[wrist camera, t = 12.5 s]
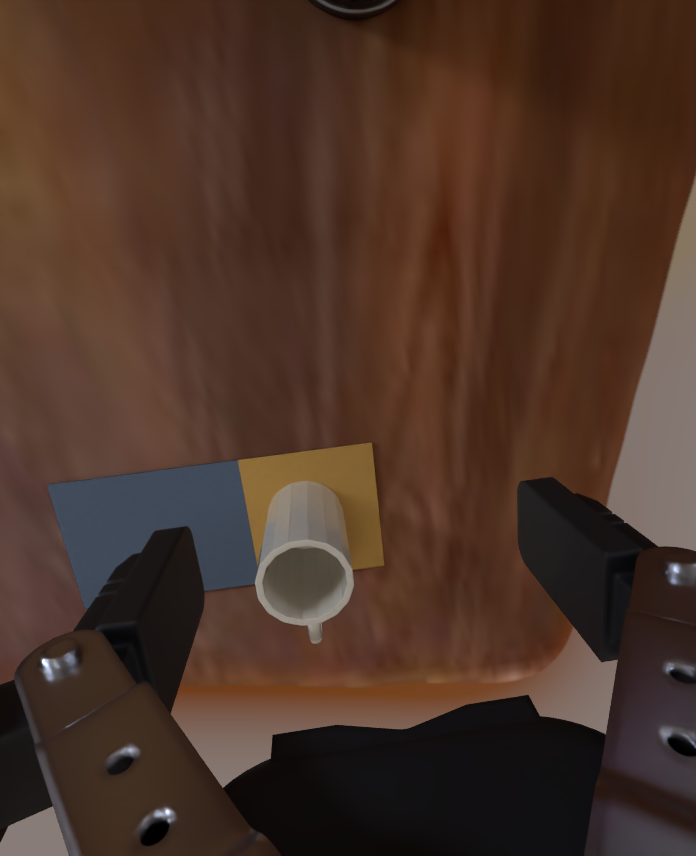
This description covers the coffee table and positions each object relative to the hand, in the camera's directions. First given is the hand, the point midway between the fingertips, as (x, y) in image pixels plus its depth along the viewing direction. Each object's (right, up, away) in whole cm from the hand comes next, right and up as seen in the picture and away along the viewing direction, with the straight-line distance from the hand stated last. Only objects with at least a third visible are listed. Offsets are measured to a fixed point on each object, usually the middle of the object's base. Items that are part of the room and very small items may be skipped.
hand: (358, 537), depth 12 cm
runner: (-10, -5, +28) cm, 30 cm away
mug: (-4, -6, +29) cm, 29 cm away
